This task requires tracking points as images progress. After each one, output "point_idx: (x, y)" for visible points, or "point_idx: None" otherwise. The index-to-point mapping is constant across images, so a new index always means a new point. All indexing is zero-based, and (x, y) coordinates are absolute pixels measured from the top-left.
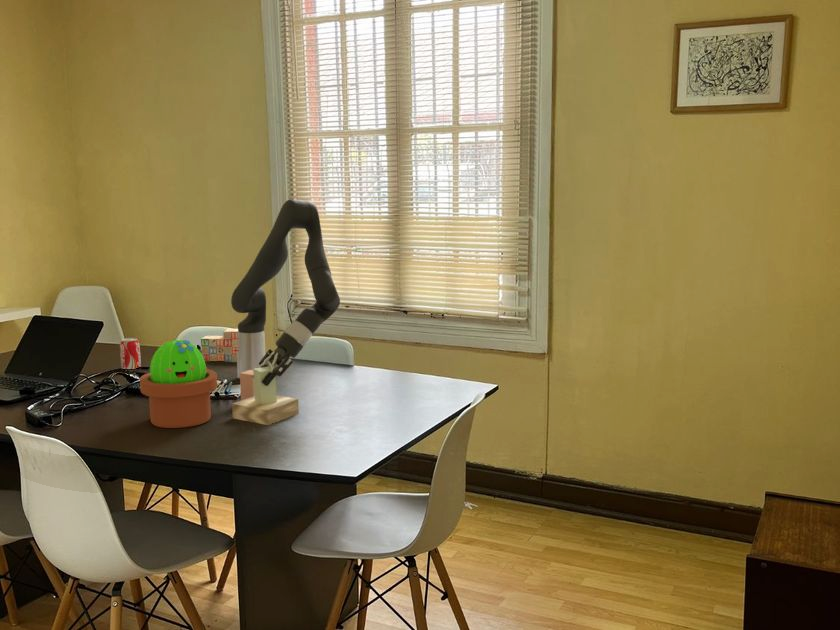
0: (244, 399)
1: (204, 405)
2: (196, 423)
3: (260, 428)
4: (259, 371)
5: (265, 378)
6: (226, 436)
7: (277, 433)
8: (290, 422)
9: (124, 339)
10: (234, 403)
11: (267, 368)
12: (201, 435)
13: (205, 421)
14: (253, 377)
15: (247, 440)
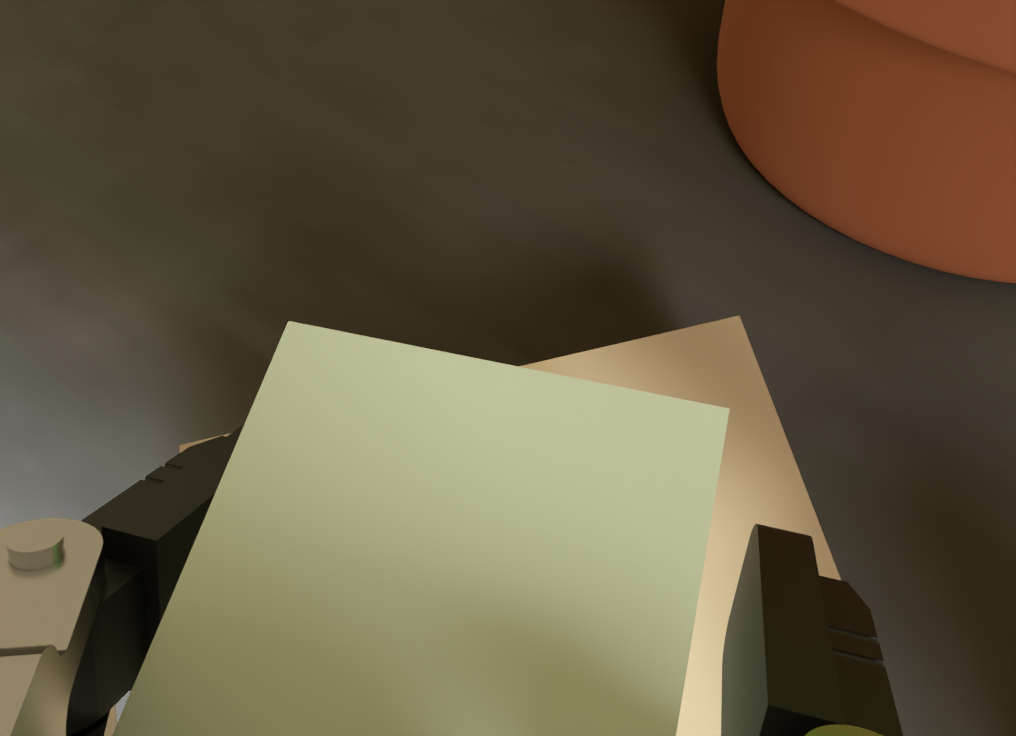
0: (817, 528)
1: (763, 22)
2: (717, 65)
3: (241, 388)
4: (327, 342)
5: (216, 452)
6: (314, 116)
7: (15, 406)
8: None
9: None
10: (724, 337)
11: (412, 714)
12: (479, 22)
13: (739, 145)
14: (755, 524)
15: (114, 166)
